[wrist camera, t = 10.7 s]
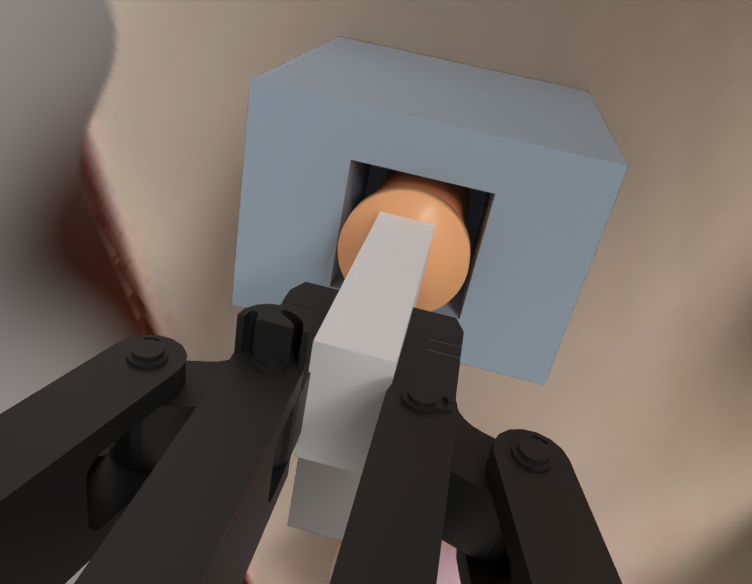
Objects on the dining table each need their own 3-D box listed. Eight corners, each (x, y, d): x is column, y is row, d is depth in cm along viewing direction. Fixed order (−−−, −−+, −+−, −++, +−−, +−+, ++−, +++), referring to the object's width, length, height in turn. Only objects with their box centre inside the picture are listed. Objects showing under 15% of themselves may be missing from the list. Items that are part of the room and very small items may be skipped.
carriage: (363, 227, 29) (266, 401, 18) (478, 255, 28) (454, 451, 17) (342, 338, 32) (248, 548, 21) (446, 365, 31) (408, 594, 20)
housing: (339, 36, 26) (250, 79, 17) (589, 91, 25) (627, 166, 16) (316, 199, 29) (231, 304, 21) (535, 252, 29) (544, 385, 20)
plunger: (382, 132, 21) (348, 179, 17) (491, 157, 21) (484, 212, 17) (364, 232, 23) (328, 297, 19) (463, 256, 23) (451, 328, 18)
